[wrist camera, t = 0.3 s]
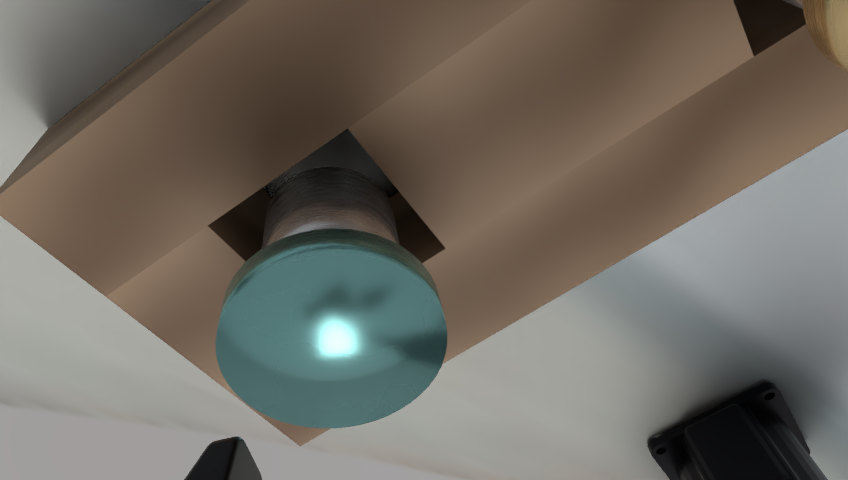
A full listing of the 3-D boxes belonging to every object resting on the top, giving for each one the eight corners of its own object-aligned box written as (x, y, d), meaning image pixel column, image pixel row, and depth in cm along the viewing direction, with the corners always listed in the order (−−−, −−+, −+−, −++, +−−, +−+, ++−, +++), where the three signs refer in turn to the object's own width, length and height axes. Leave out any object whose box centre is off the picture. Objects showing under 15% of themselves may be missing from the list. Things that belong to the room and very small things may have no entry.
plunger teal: (451, 236, 20) (488, 358, 15) (316, 320, 21) (316, 457, 16) (348, 107, 17) (357, 211, 13) (200, 211, 18) (163, 339, 14)
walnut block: (959, -50, 21) (1097, -16, 17) (302, 355, 26) (300, 446, 23) (885, -532, 15) (1077, -644, 11) (47, 130, 20) (-14, 205, 17)
